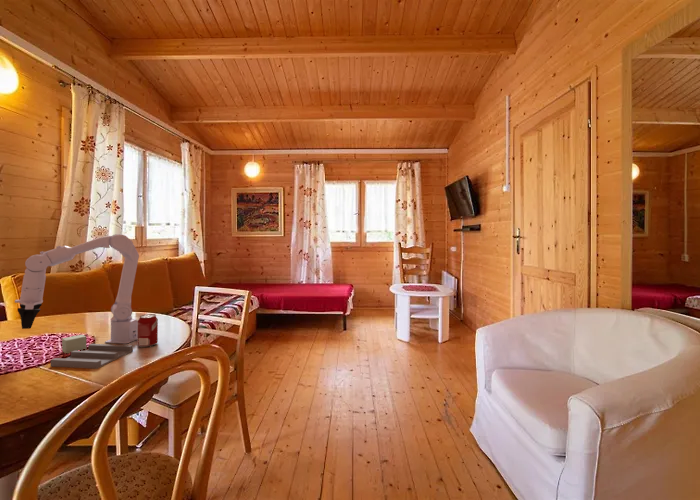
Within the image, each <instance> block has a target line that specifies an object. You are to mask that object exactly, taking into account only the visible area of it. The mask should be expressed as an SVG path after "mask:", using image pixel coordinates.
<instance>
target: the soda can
mask: <svg viewBox="0 0 700 500" xmlns="http://www.w3.org/2000/svg"><path fill="white" fill-rule="evenodd" d="M137 321H138V339H137V346H139V347H140V348H150V346H151V347H154V346H155V345H157V344H158V339H159V338H158V330H159V327H158V323H159V321H158V317H157V314H154V313H146V314H141V315H140V316H139V319H138V320H137ZM153 345H154V346H153Z"/></svg>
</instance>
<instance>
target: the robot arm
mask: <svg viewBox="0 0 700 500" xmlns="http://www.w3.org/2000/svg"><path fill="white" fill-rule="evenodd" d="M55 247H56V248H53V249H49V250H46V251H43V250H42V251H39V254H33V255H30V256H29V257H28V258H27V259H26V260H25V263H24V264H25V267H26V268H25V270H24V274H23V277H22V284H21V291H20V292H21V293H20V298H19V299H15V300H14V303H16V304H17V303H19V307H17V312H18V314H19V316H20V317H19V318H20V323H21V329H22V330H26V329H27V330H29V329H31V328H32V327H33V323H34V321H35V319H36V316H37V315H38V313H39V312H40V311H41V306H43V305H42V303H43V302H44V300H43V299H44V298H43V297H44V294H45V293H44V291H45V285H46V279H47V274H46V271H47V269H48V267H54V266H55V267H56V266H57V265H60V264H63V263H66V262H69V261H72V260H73V259H74V258H75V256H76V255H78V254H82V253H85V252H89V251H93V250H97V249H99V248H103V249H109V248H110V247H111V248H112V249H114V250H115V251H117V252H119V253H120V255H121V256H122V257H123V258H124V259H123V260H124V261H123V265H122V270H121V274H120V275H121V276H120V280H119V286H118V290H117V295H116V298H115V301H114V303H113V304H112V305H111V307H110V311H111V314H112V315H113V316H112V317H111V318H110V339H108V340H106V341H104V344H122V345H125V344H126V345H128V344H129V343H133V342H134V341H136V340H137V341H138V320H137V319H134V318H133V316H132V314H133V309H132V294H133V290H134V284H135V279H136V273H137V268H138V263H139V257H140V253H139V252H138V250H137V248H136V246H135V245H134V243H133V241H132V240H131V239H130V238H129V237H128V236H127V235H125V234H122V233H121V234H120V233H117V234H113V235H107V236H101V237H98V238H94V239H92V240H88V241H86V242H84V243H83V242H82V243H80V244H77V245H74V246H72V247H71V246H68V245H57V246H55Z"/></svg>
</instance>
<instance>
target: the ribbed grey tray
mask: <svg viewBox="0 0 700 500" xmlns="http://www.w3.org/2000/svg"><path fill="white" fill-rule="evenodd" d="M133 347H134V346H133V345H132V344H131V345H129V344H126V345H125V344H110V343H104V344H103V343H90V344H88V349H85V350H81V351H76V350H75V351H72V352H71V353H70V356H68V357H66V358H62V357H60V358H59V357H55V358H52V359H50V367H56V368H74V369H75V368H76V369H77V368H78V369H79V368H80V369H100V368H101V367H104V366H106V365H108V364H109V363H111V362H113V361H114V362H115V360H118V359H119V358H122V357H124V356H126V355H128V354H130V353H132V352H134V351H133Z"/></svg>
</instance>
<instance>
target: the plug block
mask: <svg viewBox="0 0 700 500" xmlns="http://www.w3.org/2000/svg"><path fill="white" fill-rule="evenodd" d="M61 345H62V346H61V352H62V351H63V352H62V353H64V354H66V353H67V354H71V353H70V352H72V351H75V350H76V351H78V350H81V351H84V350H83V349H85V350H87V336H86V335H84V334H79V335H78V334H77V335H73V336H67V337H63V338H61Z"/></svg>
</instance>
